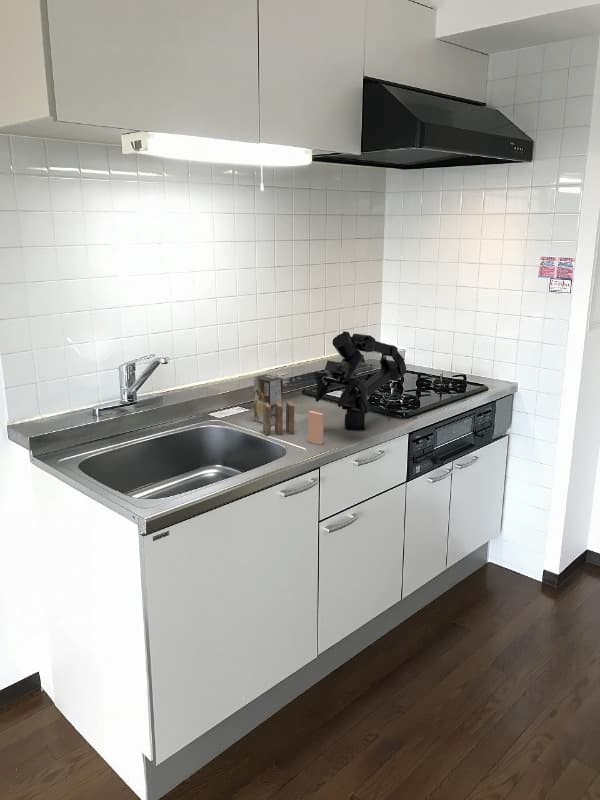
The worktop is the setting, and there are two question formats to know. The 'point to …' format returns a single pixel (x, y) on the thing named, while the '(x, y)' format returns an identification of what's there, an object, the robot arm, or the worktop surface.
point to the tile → (315, 427)
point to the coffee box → (267, 395)
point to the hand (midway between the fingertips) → (327, 403)
